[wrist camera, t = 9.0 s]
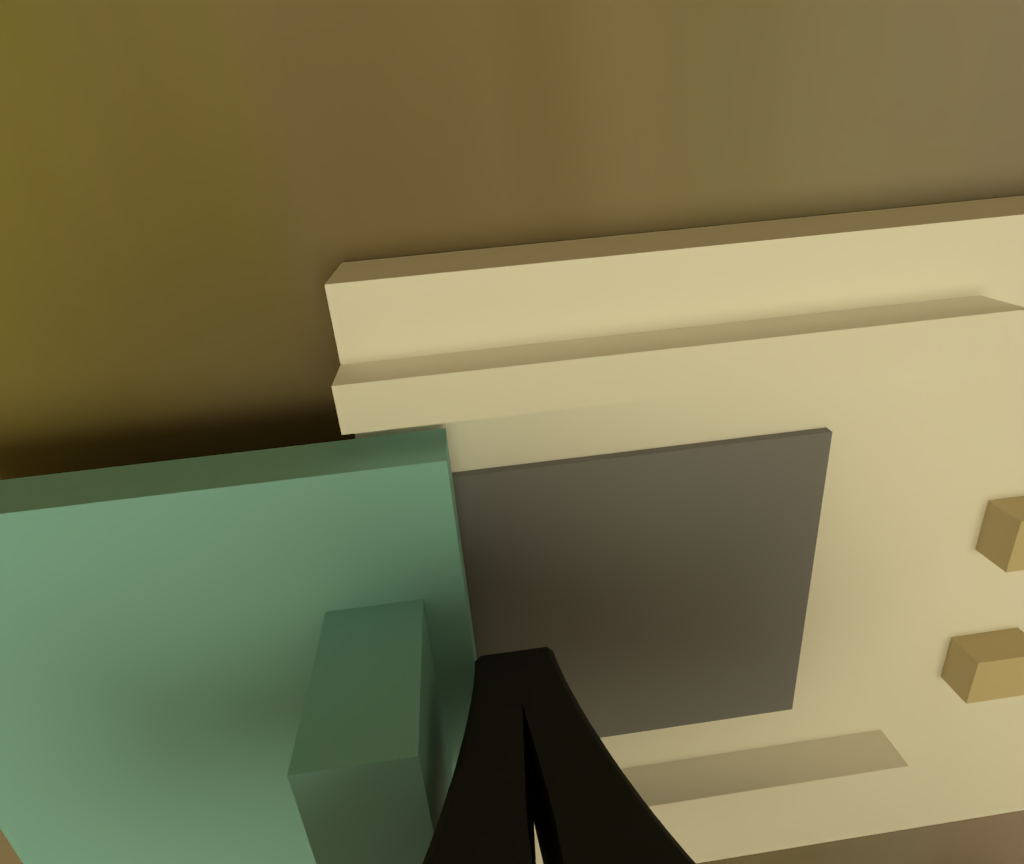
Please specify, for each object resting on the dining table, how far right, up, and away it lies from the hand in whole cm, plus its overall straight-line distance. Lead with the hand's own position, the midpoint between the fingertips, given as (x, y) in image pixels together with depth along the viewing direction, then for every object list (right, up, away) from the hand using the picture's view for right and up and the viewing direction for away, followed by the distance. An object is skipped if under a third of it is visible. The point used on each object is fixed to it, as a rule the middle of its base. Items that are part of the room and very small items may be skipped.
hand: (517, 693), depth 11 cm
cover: (-5, 0, +1) cm, 6 cm away
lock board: (+10, +2, +5) cm, 12 cm away
